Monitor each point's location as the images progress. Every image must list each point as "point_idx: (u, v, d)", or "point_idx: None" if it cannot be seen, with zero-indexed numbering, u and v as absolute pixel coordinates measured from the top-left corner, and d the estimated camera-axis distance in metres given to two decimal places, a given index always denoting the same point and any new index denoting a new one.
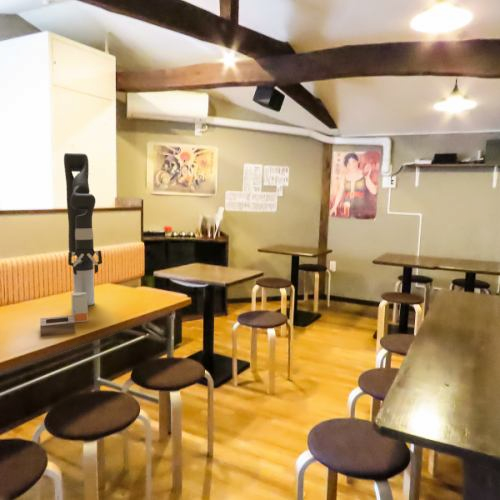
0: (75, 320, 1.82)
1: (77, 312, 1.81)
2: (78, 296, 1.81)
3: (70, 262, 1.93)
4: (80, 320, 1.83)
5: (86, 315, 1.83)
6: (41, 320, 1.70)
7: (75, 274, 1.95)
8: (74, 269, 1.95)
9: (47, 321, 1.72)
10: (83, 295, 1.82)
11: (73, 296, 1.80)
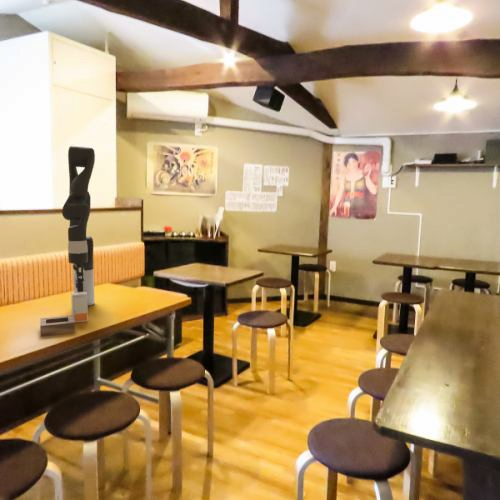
0: (75, 320, 1.82)
1: (77, 312, 1.81)
2: (78, 296, 1.81)
3: None
4: (80, 320, 1.83)
5: (86, 315, 1.83)
6: (41, 320, 1.70)
7: (82, 291, 1.79)
8: (82, 285, 1.78)
9: (47, 321, 1.72)
10: (83, 295, 1.82)
11: (73, 296, 1.80)
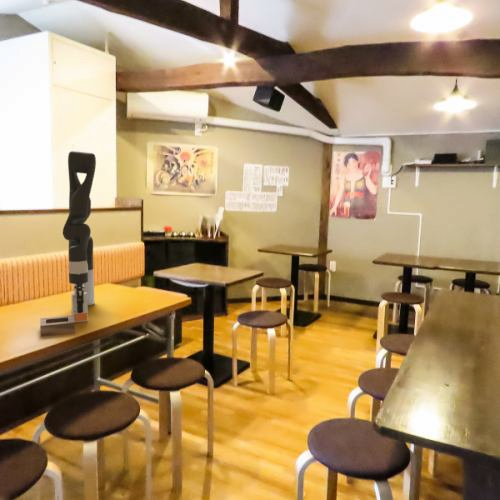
0: (75, 320, 1.82)
1: (77, 312, 1.81)
2: None
3: None
4: (80, 320, 1.83)
5: (86, 315, 1.83)
6: (41, 320, 1.70)
7: (82, 312, 1.82)
8: (81, 307, 1.81)
9: (47, 321, 1.72)
10: None
11: (73, 296, 1.80)
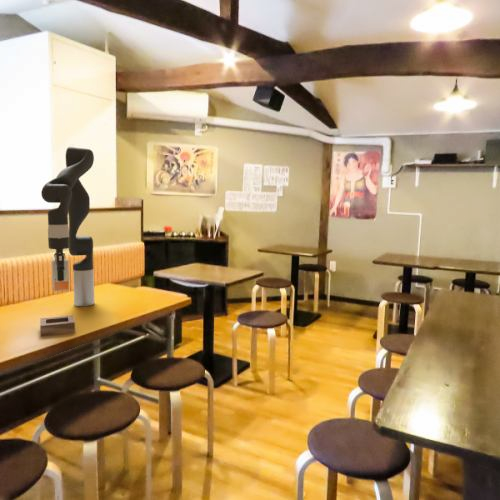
0: (55, 289, 1.68)
1: None
2: None
3: (63, 266, 1.67)
4: (61, 289, 1.69)
5: (67, 283, 1.70)
6: (41, 320, 1.70)
7: None
8: (62, 274, 1.68)
9: (47, 321, 1.72)
10: None
11: (53, 262, 1.67)
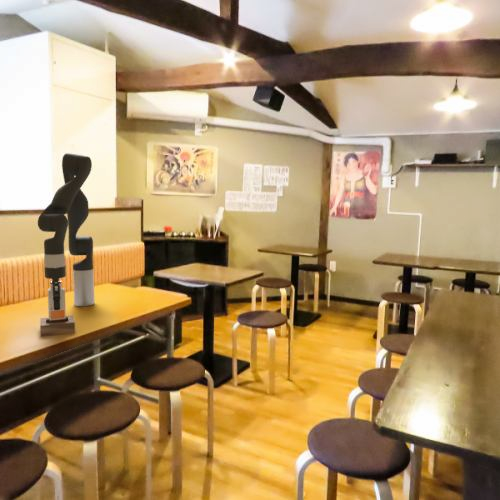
0: (52, 318, 1.68)
1: None
2: None
3: None
4: (57, 318, 1.69)
5: (64, 312, 1.70)
6: (41, 320, 1.70)
7: (59, 309, 1.69)
8: (58, 303, 1.68)
9: (47, 321, 1.72)
10: None
11: (49, 292, 1.67)
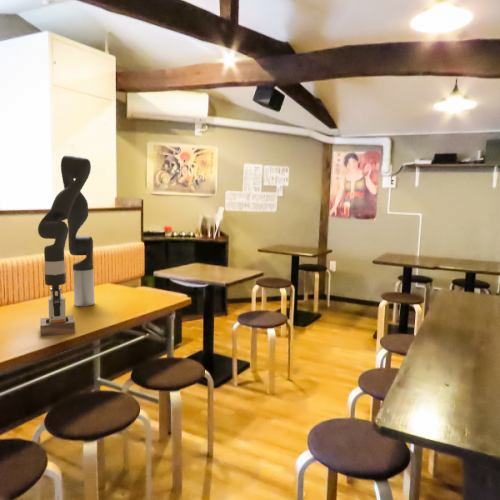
0: None
1: (54, 318, 1.69)
2: (55, 301, 1.68)
3: None
4: None
5: (64, 321, 1.71)
6: (41, 320, 1.70)
7: (59, 315, 1.68)
8: (58, 310, 1.67)
9: (47, 321, 1.72)
10: None
11: (49, 301, 1.67)
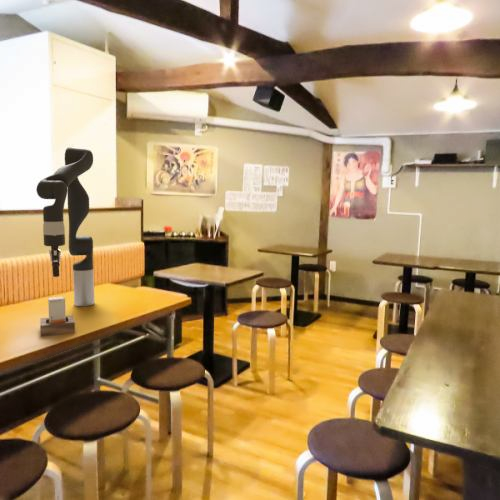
0: None
1: (54, 318, 1.69)
2: (55, 301, 1.68)
3: None
4: None
5: (64, 321, 1.71)
6: (41, 320, 1.70)
7: None
8: (57, 270, 1.65)
9: (47, 321, 1.72)
10: (60, 300, 1.69)
11: (49, 301, 1.67)
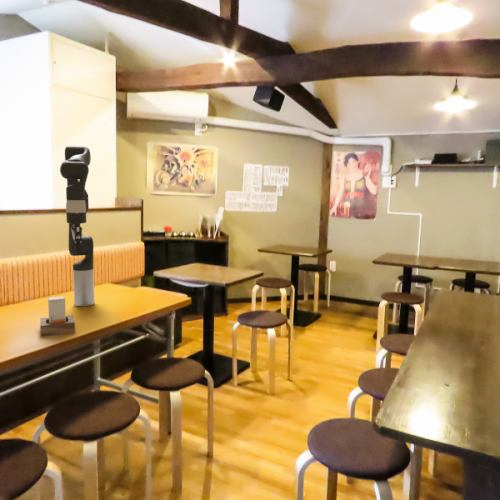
0: None
1: (54, 318, 1.69)
2: (55, 301, 1.68)
3: (81, 238, 1.74)
4: None
5: (64, 321, 1.71)
6: (41, 320, 1.70)
7: (81, 251, 1.76)
8: (80, 246, 1.75)
9: (47, 321, 1.72)
10: (60, 300, 1.69)
11: (49, 301, 1.67)
